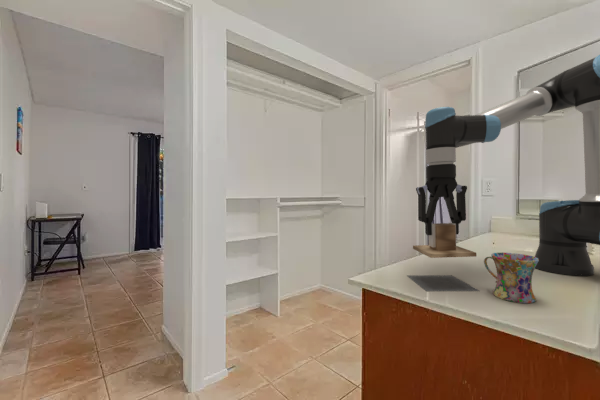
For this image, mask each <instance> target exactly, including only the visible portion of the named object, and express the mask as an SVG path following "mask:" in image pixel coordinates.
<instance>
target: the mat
mask: <svg viewBox="0 0 600 400" xmlns="http://www.w3.org/2000/svg"><path fill="white" fill-rule="evenodd" d="M406 277H408V278H409V279H410V280H411V281H413V282H414V283H415V284H417V286H419V287H420V288H421V289H423V290H424V291H425V292H480V290H479V289H478V288H476V287H474V286H472V285H470V284H468V283H467V282H465V281H463V280H461V279H459V278H458V277H456V276H454V275H452V274H450V275H449V274H446V275H445V274H441V275H440V274H439V275H438V274H437V275H435V274H434V275H431V274H429V275H424V274H423V275H420V274H419V275H417V274H416V275H413V274H412V275H411V274H410V275H407V274H406Z"/></svg>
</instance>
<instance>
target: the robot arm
mask: <svg viewBox="0 0 600 400" xmlns="http://www.w3.org/2000/svg"><path fill="white" fill-rule="evenodd" d="M569 108H574V109H575V110H576V111H578V112H581V114H582V125H583V126H582V130H583V133H582V134H583V154H584V157H583V158H584V181H585V182H584V185H585V194H584V195H583V196H582V197H581V198H579V199H570V200H569V199H568V200H555V201H546V202H543V203H542V204H541V205H540V206H539V213H538V215H539V216H538V217H539V218H538V220H539V222H538V225H539V227H538V228H539V234H538V235H539V236H538V238H539V241H538V247H537V249H536V251H535V255H534V257H536V258H538V259H539V261H538V263H537V265H536V267H535V269H537V270H540V271H544V272H550V273H555V274H560V275H565V276H566V275H567V276H568V275H569V276H586V277H587V276H593V275H594V274H595V267H594V264H592V261H591V258H590V255H589V252H588V250H587V244H592V245H598V246H600V54H598V55H597V56H595V57H593V58H591V59H589V60H585V62H582V63H580V64H578V65H576V66H575V65H574V66H573V67H571V68H569V69H566V70H563V72H560V73H557V75H555V76H553V77H552V78H549V79H548V80H546V81H545V82H542V83H541V84H539V85H536V86H534V87H532V88H530V89H529V90H528V91H527V92H525V94H522V95H520V96H518V97H516V98H513V99H511V100H508V101H506V102H504V103H503V102H502V103H501V104H499V105H496V106H494V107H491V108H489V109H487V110H483V111H482V112H480V113H477V114H474V115H472V114H470V115H457V113H456V110H455V109H456V108H454V107H452V106H451V107H450V106H440V107H434V108H433V109H430V110H429V111H427V113H426V114H425V122H424V123H425V124H424V125H425V126H424V130H425V156H426V157H425V162H426V168H425V169H426V170H425V171H426V181H425V184H424V185H422V186H417V187H416V188H415V191H416V193H417V195H418V196H417V213H418V214H417V217H418V219H417V220H418V221H419V222H422V223H424V224H425V225H424V226H425V227H424V229H425V235H426V236H428V245H429V246H431V247H433V248H434V247H436V238H435V224H436V223H433V222H434V218H435V214H436V209H437V205H438V202H439V200H440V198H443V200H444V202H445V205H446V209H447V211H448V215H449V219H450V222H447V223H448V224H452V225H455V228H456V235H459V233H460V231H459V230H460V227H459V225H460V224H461V223H462V222H465V221H466V220H467V208H466V207H467V206H466V193H467V190H468V186H467V185H462V184H458V182H457V180H456V178H457V165H456V162H457V153H456V152H457V151H456V149H457V148H460V147H464V146H469V145H471V144H472V145H473V144H476V143H482V144H484V143H490V142H493V141H495V140H496V139H498V137H499V136H500V134H501V131H502V130H503V129H505V128H507V127H509V126H511V125H514V124H516V123H520V122H521V121H524V120H527V119H529V118H532V117H534V116H536V117H541V116H544V115H546V114H550V113H552V112H556V111H560V110H564V109H569ZM427 191H428V193H429V198H428V199H429V200H428V205H427V196H426V193H427ZM454 192H456V197H455V195H454ZM455 198H456V203H455Z"/></svg>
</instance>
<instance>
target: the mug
mask: <svg viewBox="0 0 600 400" xmlns="http://www.w3.org/2000/svg"><path fill="white" fill-rule="evenodd" d="M488 259H491V260H493V262H494V263H493V264H494V265H495V268H496V274H494V273H493V272H492V270H491V269H490V268H489V266H488V262H487V260H488ZM538 261H539V259H538V258H536V257H535V256H532V255H530V254H529V255H528V254H524V253H516V252H492V253H491V256H487V257H485V258H484V260H483V263H484V267H485V268H486V270H487V272H489V274H490V275H491V276H492V277H493V278H494V279H496V281H495V283H496V284H495V287H494V288H493V290H492V294H493V295H494V296H495V297H497V298H498V299H499V300H504V301H507V302H511V303H515V304H516V303H517V304H534V303H535V302H536V301H537V298H536V296H535V294H534V291H533V286H532V281H533V280H532V279H533V275H534V271H535V269H536V268H535V267H536V265H537V263H538Z"/></svg>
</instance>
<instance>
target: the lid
mask: <svg viewBox="0 0 600 400" xmlns="http://www.w3.org/2000/svg"><path fill="white" fill-rule="evenodd" d="M448 223H449V222H446V223H445V222H444V223H443V222H442V223H434V224H435V238H436V247H434V248H433V247H431V246H429V244H425V245H424V244H423V245H421V244H419V245H412V249H413V250H414V251H416V252H419V253H420V254H423V255H424V256H426V257H428V258H431V259H436V258H438V259H439V258H440V259H441V258H471V257H472V258H473V257H477V252H476V251H472V250H470V249H466V248H463V247H461V246H458V245H457V234H456V228H455V225H452V224H448Z"/></svg>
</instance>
